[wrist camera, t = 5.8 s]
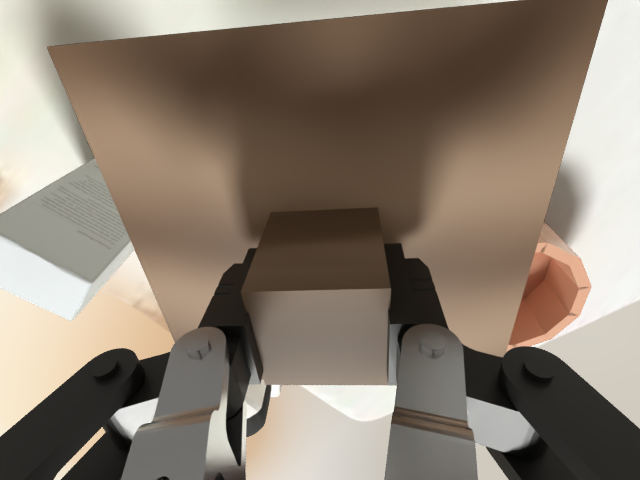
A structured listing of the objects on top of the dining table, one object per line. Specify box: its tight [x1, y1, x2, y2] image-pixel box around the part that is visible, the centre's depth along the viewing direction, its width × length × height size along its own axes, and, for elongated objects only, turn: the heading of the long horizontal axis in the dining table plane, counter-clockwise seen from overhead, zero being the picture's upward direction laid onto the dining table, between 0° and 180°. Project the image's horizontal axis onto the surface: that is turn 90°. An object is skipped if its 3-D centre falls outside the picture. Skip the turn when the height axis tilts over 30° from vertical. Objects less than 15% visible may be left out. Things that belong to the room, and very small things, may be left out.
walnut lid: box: [47, 0, 608, 385], centre depth 11 cm, size 14×14×5 cm
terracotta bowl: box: [507, 223, 591, 351], centre depth 30 cm, size 11×11×5 cm
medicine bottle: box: [245, 380, 281, 437], centre depth 32 cm, size 7×7×12 cm
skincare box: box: [0, 158, 135, 321], centre depth 25 cm, size 6×4×12 cm
